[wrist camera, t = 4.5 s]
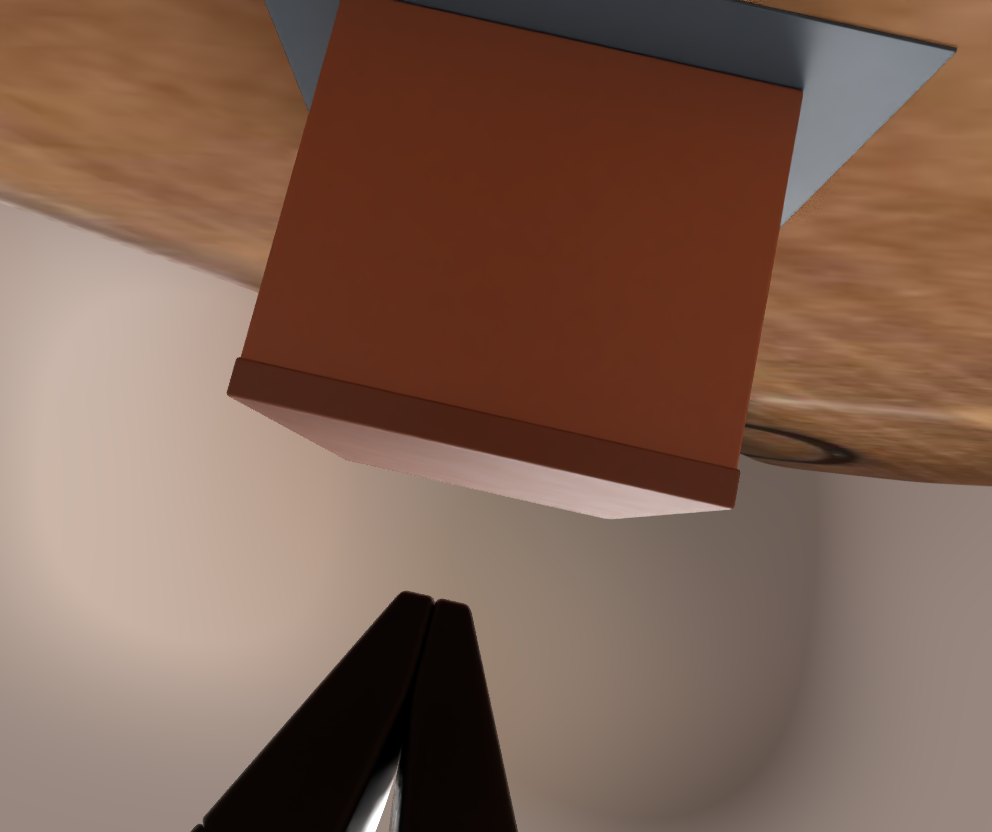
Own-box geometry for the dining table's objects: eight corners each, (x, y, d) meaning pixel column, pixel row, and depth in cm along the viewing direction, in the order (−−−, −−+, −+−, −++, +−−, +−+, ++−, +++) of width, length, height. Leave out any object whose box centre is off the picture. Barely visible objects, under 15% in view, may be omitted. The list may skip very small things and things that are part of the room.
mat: (222, -121, 15) (219, -111, 14) (958, 42, 14) (956, 52, 14) (382, 289, 39) (381, 293, 39) (653, 350, 39) (652, 354, 39)
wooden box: (339, -16, 16) (224, 395, 15) (808, 88, 16) (734, 509, 15) (402, 235, 30) (345, 460, 29) (655, 291, 30) (610, 519, 29)
